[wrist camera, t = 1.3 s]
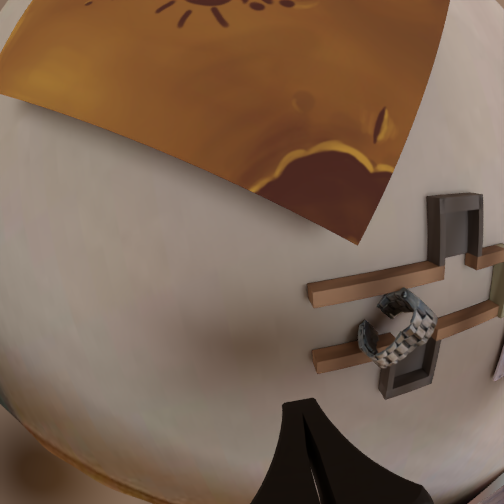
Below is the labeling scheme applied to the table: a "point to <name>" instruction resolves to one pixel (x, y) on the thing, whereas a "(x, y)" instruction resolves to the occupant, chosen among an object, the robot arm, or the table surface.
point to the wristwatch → (408, 338)
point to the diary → (242, 87)
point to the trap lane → (394, 279)
